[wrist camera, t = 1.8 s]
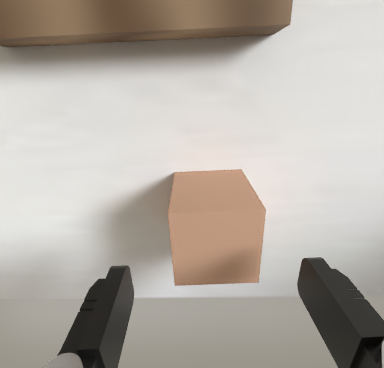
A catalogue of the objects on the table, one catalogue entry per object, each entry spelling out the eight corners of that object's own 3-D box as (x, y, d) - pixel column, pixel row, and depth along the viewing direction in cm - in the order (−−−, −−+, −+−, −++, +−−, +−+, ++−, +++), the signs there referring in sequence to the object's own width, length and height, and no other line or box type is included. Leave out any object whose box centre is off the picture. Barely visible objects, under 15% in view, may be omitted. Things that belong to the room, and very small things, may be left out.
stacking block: (241, 169, 17) (265, 209, 12) (238, 225, 19) (258, 282, 14) (174, 172, 17) (167, 213, 12) (179, 227, 19) (174, 285, 14)
